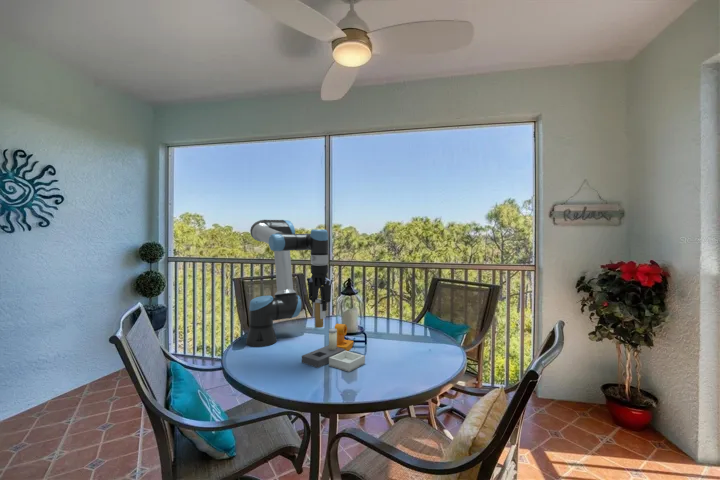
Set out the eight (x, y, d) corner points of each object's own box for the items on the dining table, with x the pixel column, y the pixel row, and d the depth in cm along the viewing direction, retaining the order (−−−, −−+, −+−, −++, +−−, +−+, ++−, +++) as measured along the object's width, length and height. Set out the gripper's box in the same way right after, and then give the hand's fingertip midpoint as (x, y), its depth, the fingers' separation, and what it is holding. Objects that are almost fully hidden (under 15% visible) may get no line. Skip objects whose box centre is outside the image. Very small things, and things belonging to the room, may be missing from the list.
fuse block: (318, 367, 146) (318, 339, 145) (301, 362, 152) (301, 335, 151) (345, 355, 160) (345, 329, 160) (329, 351, 166) (329, 326, 166)
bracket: (345, 353, 164) (345, 328, 163) (331, 351, 166) (331, 326, 166) (354, 346, 174) (354, 322, 174) (340, 344, 176) (340, 321, 176)
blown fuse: (313, 326, 153) (313, 299, 153) (319, 325, 156) (319, 298, 155) (319, 328, 151) (319, 300, 150) (325, 326, 154) (325, 299, 153)
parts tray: (329, 365, 148) (329, 357, 148) (345, 358, 157) (345, 350, 157) (349, 371, 142) (349, 363, 142) (364, 363, 150) (364, 355, 150)
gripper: (299, 264, 154) (300, 316, 155) (327, 266, 145) (327, 322, 145) (311, 262, 161) (311, 313, 161) (339, 264, 151) (339, 318, 151)
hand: (319, 317), depth 153 cm, fingers closed on blown fuse, 3 cm apart
